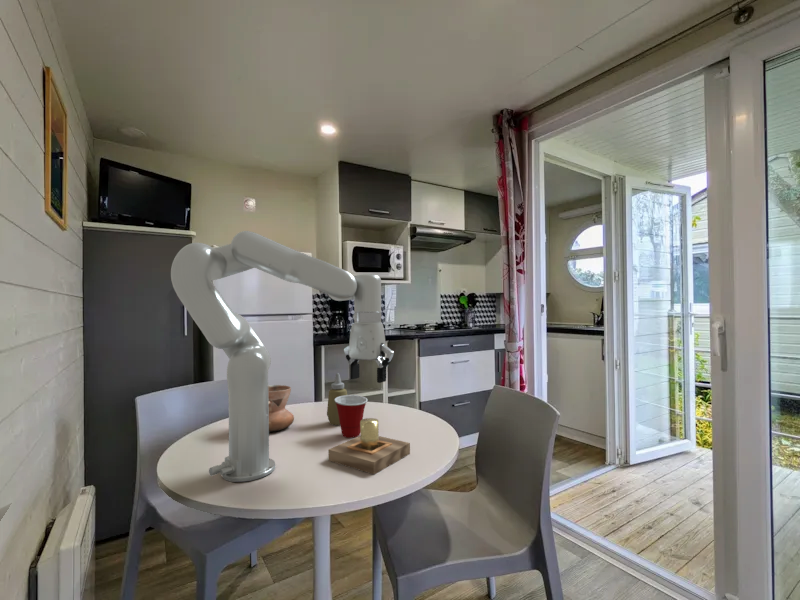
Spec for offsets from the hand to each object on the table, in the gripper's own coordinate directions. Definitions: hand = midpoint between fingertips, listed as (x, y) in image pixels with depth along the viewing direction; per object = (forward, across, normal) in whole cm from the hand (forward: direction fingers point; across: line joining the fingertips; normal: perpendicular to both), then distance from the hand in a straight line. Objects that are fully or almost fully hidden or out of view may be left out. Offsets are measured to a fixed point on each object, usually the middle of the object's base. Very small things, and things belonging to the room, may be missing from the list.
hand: (367, 380), depth 103 cm
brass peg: (+21, 0, 0) cm, 21 cm away
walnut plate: (+21, 0, 0) cm, 21 cm away
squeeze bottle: (+22, -30, +18) cm, 41 cm away
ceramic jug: (+22, -46, +2) cm, 51 cm away
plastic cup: (+21, -17, +11) cm, 29 cm away
